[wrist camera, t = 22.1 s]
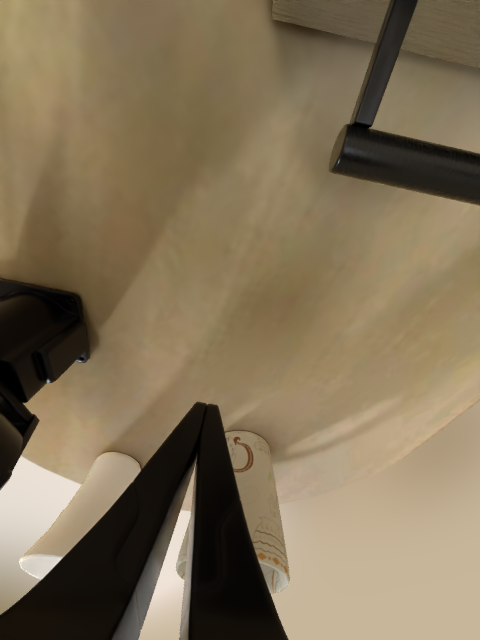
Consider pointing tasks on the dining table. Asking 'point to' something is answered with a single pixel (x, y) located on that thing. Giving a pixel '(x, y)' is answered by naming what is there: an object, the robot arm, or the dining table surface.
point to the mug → (255, 507)
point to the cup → (82, 511)
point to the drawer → (390, 36)
